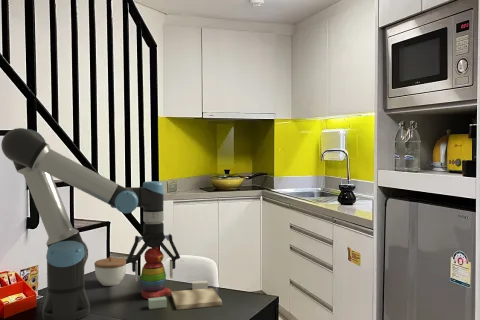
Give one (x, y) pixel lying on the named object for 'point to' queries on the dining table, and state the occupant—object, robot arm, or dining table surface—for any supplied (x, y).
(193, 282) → the grey brick
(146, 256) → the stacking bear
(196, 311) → the dining table surface
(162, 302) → the sage brick
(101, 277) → the lidded bowl
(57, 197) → the robot arm
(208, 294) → the birch board
